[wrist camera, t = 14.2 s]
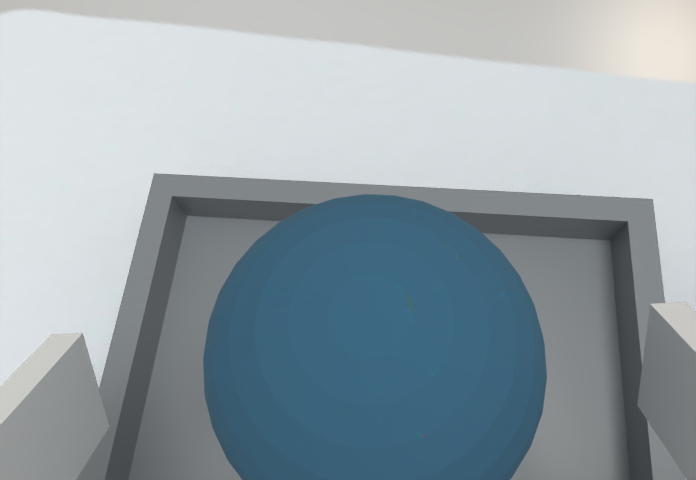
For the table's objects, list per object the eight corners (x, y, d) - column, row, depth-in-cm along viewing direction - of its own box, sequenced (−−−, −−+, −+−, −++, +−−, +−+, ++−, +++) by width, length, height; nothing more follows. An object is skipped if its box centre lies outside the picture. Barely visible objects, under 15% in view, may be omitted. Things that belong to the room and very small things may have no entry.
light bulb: (228, 470, 21) (63, 457, 10) (312, 267, 24) (256, 83, 13) (450, 562, 20) (542, 664, 9) (511, 333, 23) (638, 189, 11)
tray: (628, 225, 24) (652, 199, 22) (672, 682, 18) (712, 711, 16) (174, 200, 26) (154, 173, 24) (80, 603, 20) (40, 618, 18)
